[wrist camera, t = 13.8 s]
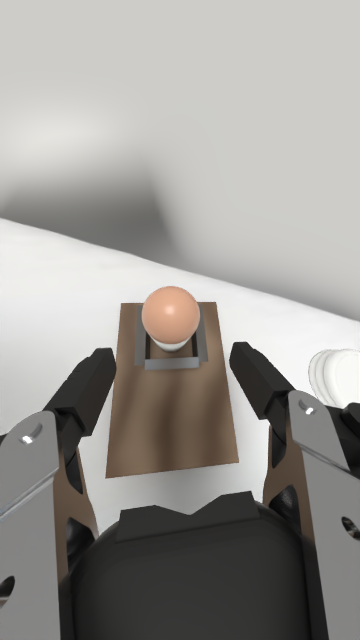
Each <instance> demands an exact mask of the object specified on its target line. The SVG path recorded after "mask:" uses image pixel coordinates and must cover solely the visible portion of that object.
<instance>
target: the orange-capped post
mask: <svg viewBox="0 0 360 640" xmlns="http://www.w3.org/2000/svg"><path fill="white" fill-rule="evenodd" d="M199 321H200V310H199V306H198V304H197V302H196V300H195V298H194V297H193V296H192V295H191V294H190V293H189V292H187V291H186V290H184V289H182V288H179V287H174V286H167V287H162V288H160V289H157V290H156V291H154V292H153V293H152V294H150V295H149V297H148V298H147V299H146V301H145V303H144V305H143V308H142V323H143V326H144V328H145V330H146V331H147V333H148V334H149V335H150V337H151V338H152V339H153V340H154V341H155V343H156V344H157V345H158V346H159V347H160V349H161V350H163V351H165V352H167V353H174V352H177V351H179V350H180V349H181V348H182V347H183V346H184V344H185V343H186V342H187V341H188V340H189V339H190V337H191V336H192V335H193V334H194V332H195V331H196V329H197V327H198V325H199Z"/></svg>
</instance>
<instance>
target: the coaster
mask: <svg viewBox="0 0 360 640" xmlns="http://www.w3.org/2000/svg"><path fill="white" fill-rule="evenodd" d="M309 378H310V383H311V386H312V388H313V390H314V392H315V394H316V396H317V397H318V399H319V400H320V401H321V402H322V403H323V404H324V405H328V406H332V407H337V408H341V409H344V408H345V407H346V406H347V405H348V404H349V403H352V402H355V403H360V351H357V350H352V349H341V350H327V351H323V352H320V353H318V354H317V355H316V356H315V357H314V358H313V359H312V361H311V363H310V367H309Z"/></svg>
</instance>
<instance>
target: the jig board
mask: <svg viewBox="0 0 360 640" xmlns="http://www.w3.org/2000/svg"><path fill="white" fill-rule="evenodd" d="M197 304H198V306H199V310H200V321H199V325H198V327H197V329H196V331H195V332H194V334H193V335H192V336H191V337H190V339H189V340H188V341H187V342H186V343H185V344H184V346H183V347H182V348H181V349H180V350H179V351H177V352H174V353H167V352H165V351H163V350H161V349H160V347H159V346H158V345H157V344H156V343H155V341H154V340H153V339H152V338H151V337H150V335H149V334H148V333H147V331H146V330H145V328H144V326H143V323H142V308H143V305H144V303H121V311H120V322H119V333H118V344H117V355H116V366H117V371H116V375H115V378H114V389H113V400H112V411H111V422H110V433H109V444H108V455H107V467H106V478H114V477H123V476H131V475H139V474H148V473H156V472H164V471H173V470H181V469H189V468H198V467H206V466H214V465H223V464H231V463H239V459H238V452H237V445H236V438H235V431H234V424H233V417H232V410H231V403H230V396H229V389H228V382H227V375H226V368H225V361H224V354H223V347H222V340H221V333H220V326H219V319H218V312H217V305H216V302H197ZM106 478H105V479H106Z"/></svg>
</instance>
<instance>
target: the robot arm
mask: <svg viewBox="0 0 360 640" xmlns="http://www.w3.org/2000/svg"><path fill="white" fill-rule="evenodd" d="M229 364H230V367H231V370H232V371H233V373H234V375H235V377H236V379H237V381H238V382H239V384H240V386H241V388H242V390H243V391H244V393H245V395H246V397H247V399H248V401H249V402H250V404H251V406H252V408H253V410H254V411H255V413H256V415H257V417H258V419H259V420H263V419H268V421H269V422H270V426H269V442H268V470H267V475H266V479H265V482H264V488H263V503H260V502H258V501H255V500H254V498H253V495H252V492H251V491H246V492H240V493H233V494H226V495H221V496H219V497H218V498H216V499H215V500H213V501H212V502H210V503H209V504H207V505H206V506H204V507H203V508H201V509H200V510H198V511H197V512H195V513H193V514H191V515H186V514H183V513H180V512H176V511H173V510H170V509H166V508H163V507H160V506H156V505H153V506H146V507H139V508H133V509H126V510H121V513H120V519H119V521H117V522H116V523H114V524H113V525H112V526H110V527H109V528H108V529H107V530H105V531H104V532H103V533H102V534H101V535H100V536H99V532H98V528H97V523H96V518H95V514H94V511H93V508H92V505H91V503H90V501H89V498H88V494H87V490H86V485H85V480H84V474H83V469H82V464H81V459H80V454H79V449H78V444H79V442H80V439H81V437H86V436H91V435H92V433H93V430H94V428H95V425H96V423H97V420H98V418H99V415H100V413H101V410H102V408H103V405H104V403H105V400H106V398H107V395H108V393H109V390H110V388H111V385H112V383H113V380H114V378H115V375H116V371H117V366H116V362H115V359H114V355H113V351H112V349H111V348H97V349H96V350H95V351H94V352H93V354H92V355H91V356H90V357H87V358H85V359H84V360H83V361H81V362H80V363H79V364H78V365H77V366H76V367H75V369H74V370H73V371H72V373H71V374H70V375H69V377H68V378H67V380H65V382H64V383H63V384H62V386H61V387H60V388H59V389H58V391H57V392H56V393H55V395H54V396H53V397H52V399H51V400H50V401H49V402H48V404H47V405H46V406H45V408H44V409H43V410H42V411H41V412H38V413H35V414H33V415H31V416H29V417H27V418H26V419H24V420H23V421H21V422H20V423H19V424H17V425H16V426H15V427H14V428H13V429H12V430H11V431H10V432H9V433H7V434H4V435H2V436H0V640H360V403H355V402H352V403H349V404H348V405H347V406H346V407H345V408H344V409H341V408H337V407H332V406H328V405H323V404H322V403H321V402H320V401H319V400H318V399H316V398H315V397H313V396H312V395H310V394H308V393H306V392H303V391H299V390H296V389H295V388H294V387H293V386H292V385H291V384H290V383H289V382H288V381H287V380H286V378H285V377H284V376H283V375H282V374H281V373H280V372H279V371H278V370H277V369H276V368H275V367H274V366H273V364H272V363H271V362H269V360H268V359H267V358H266V357H265V356H264V355H263V354H262V353H260V352H259V351H257V350H256V349H253V348H252V347H251V346H250V345H249V344H248V343H247V342H234V343H233V346H232V350H231V355H230V359H229Z"/></svg>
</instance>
